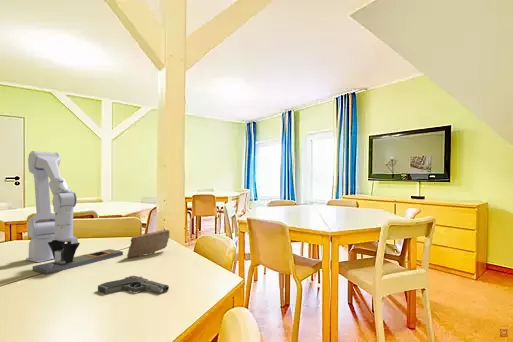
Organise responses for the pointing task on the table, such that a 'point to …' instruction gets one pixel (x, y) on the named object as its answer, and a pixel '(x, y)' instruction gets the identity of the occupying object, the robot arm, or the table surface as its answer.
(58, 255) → the grey rectangular block
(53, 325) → the table surface
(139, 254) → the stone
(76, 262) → the rail
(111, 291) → the handgun
